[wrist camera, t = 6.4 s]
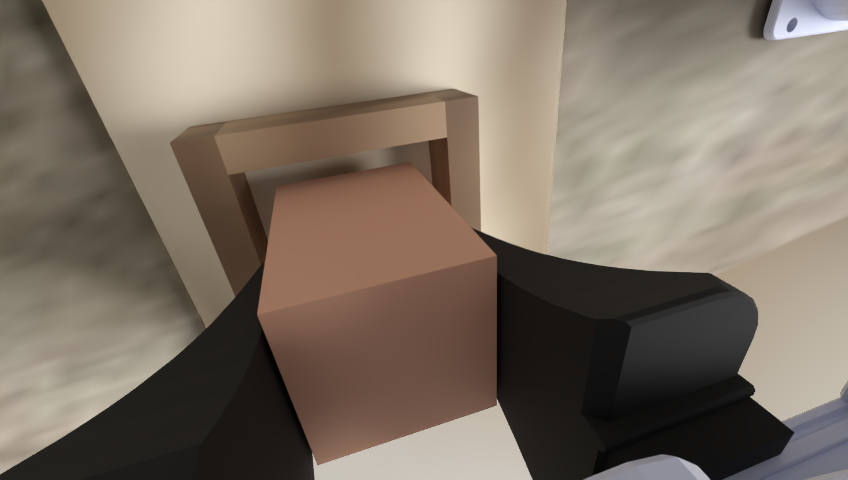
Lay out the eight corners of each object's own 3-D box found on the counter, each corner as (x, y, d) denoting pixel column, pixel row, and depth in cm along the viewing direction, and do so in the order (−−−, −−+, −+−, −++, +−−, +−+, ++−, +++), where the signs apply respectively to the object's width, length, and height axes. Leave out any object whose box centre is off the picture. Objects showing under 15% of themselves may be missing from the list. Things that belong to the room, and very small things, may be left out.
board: (576, -452, 9) (693, -659, 6) (533, 270, 18) (570, 307, 16) (-222, -595, 6) (-630, -1093, 3) (229, 349, 16) (216, 410, 13)
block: (410, 161, 12) (496, 255, 7) (422, 269, 14) (496, 405, 9) (276, 186, 11) (257, 314, 6) (310, 296, 13) (317, 465, 8)
